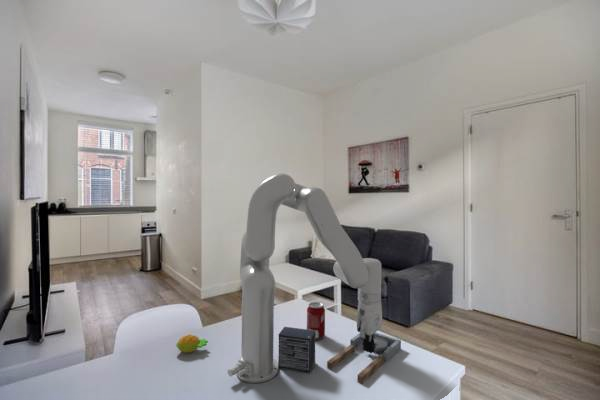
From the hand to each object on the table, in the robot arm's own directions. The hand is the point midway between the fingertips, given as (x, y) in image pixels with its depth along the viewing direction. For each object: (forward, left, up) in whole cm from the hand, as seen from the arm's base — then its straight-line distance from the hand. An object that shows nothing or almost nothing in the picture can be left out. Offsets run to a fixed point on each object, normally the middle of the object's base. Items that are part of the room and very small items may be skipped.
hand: (368, 350), depth 100 cm
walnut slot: (-9, 0, -1) cm, 9 cm away
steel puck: (+6, 0, -2) cm, 6 cm away
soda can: (-2, +21, -2) cm, 21 cm away
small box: (-20, +14, -2) cm, 25 cm away
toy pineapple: (-38, +46, -2) cm, 59 cm away
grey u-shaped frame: (+4, 0, -1) cm, 5 cm away
